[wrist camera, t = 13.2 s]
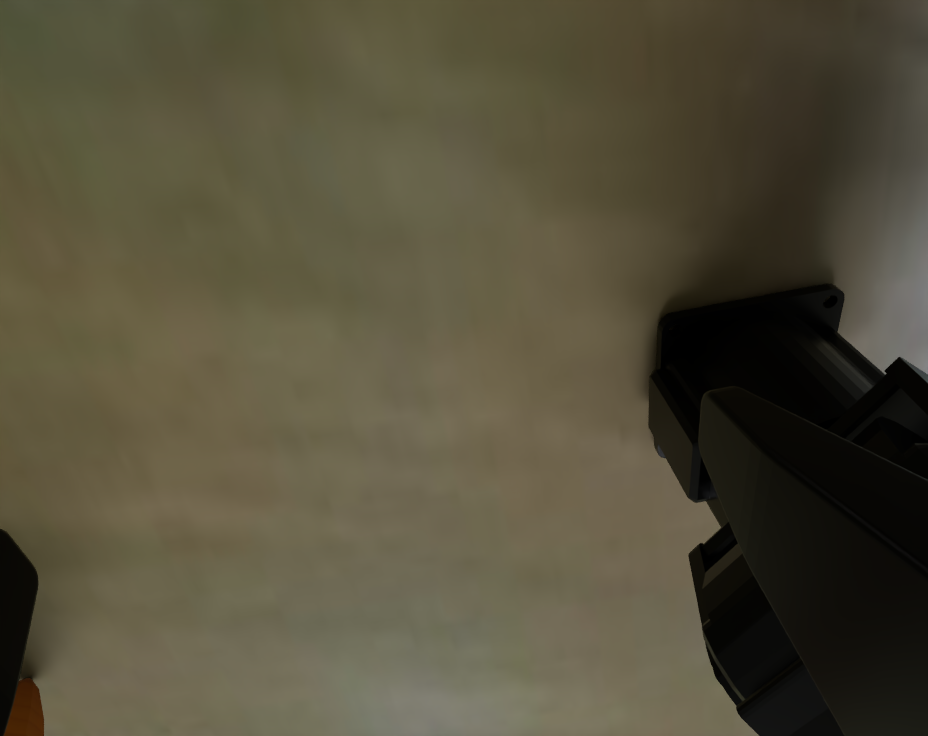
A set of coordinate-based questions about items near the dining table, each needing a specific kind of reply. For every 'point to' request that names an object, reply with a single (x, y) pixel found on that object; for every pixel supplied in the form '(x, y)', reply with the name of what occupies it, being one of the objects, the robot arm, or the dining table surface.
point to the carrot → (26, 711)
